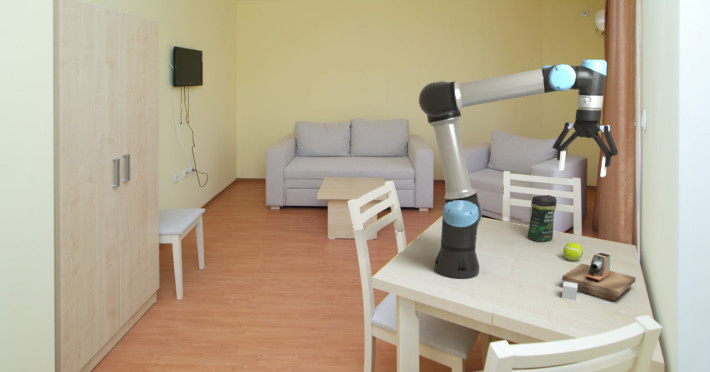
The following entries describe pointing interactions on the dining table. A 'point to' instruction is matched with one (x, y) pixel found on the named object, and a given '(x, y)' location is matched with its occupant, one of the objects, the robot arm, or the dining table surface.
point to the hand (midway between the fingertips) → (581, 173)
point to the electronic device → (599, 267)
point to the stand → (599, 283)
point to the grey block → (569, 290)
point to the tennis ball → (573, 251)
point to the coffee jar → (542, 218)
